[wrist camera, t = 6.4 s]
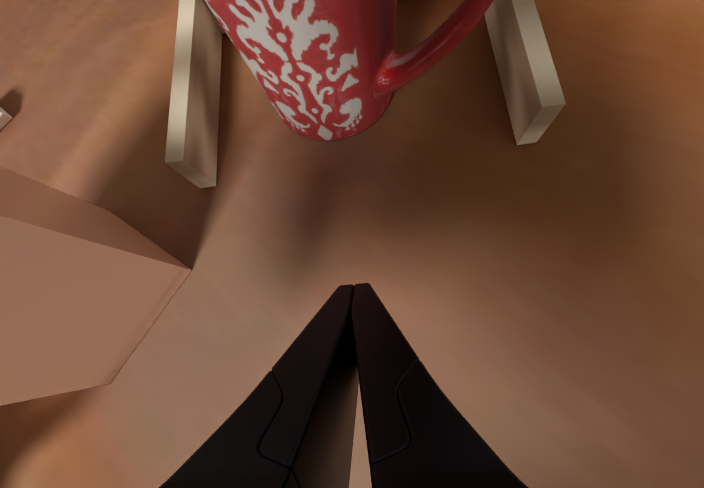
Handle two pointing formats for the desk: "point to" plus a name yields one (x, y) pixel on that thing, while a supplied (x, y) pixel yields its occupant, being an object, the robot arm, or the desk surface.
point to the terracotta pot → (72, 290)
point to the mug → (333, 56)
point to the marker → (4, 118)
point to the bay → (501, 17)
